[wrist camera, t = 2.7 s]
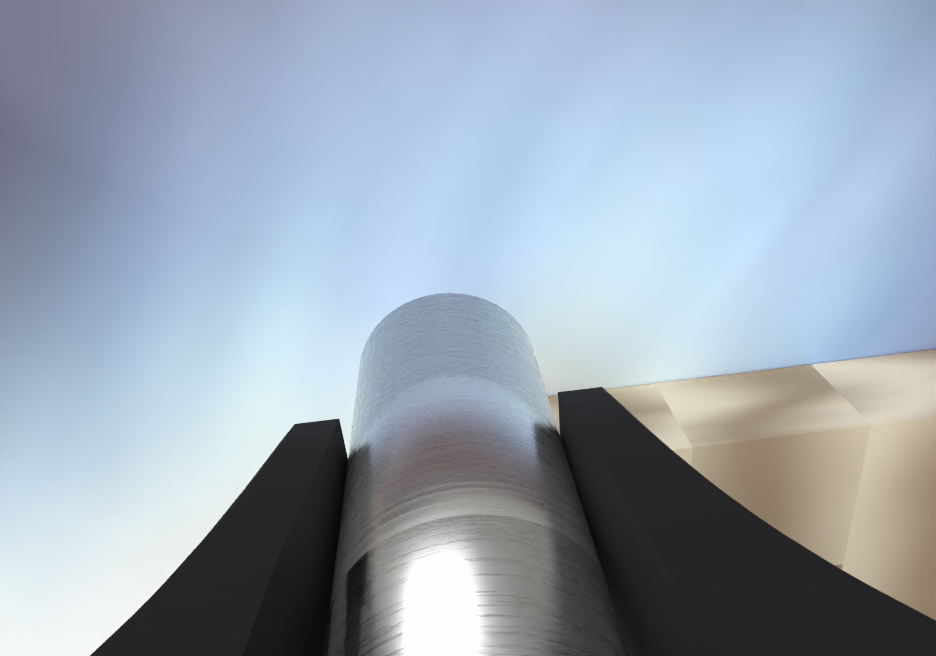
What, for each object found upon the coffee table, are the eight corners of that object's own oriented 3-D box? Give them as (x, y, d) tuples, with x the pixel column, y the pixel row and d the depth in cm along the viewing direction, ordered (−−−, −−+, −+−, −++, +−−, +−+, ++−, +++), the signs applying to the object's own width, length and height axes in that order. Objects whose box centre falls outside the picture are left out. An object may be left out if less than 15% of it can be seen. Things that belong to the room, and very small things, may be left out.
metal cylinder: (529, 282, 12) (669, 657, 5) (539, 434, 13) (657, 868, 7) (345, 305, 12) (269, 708, 5) (374, 453, 13) (341, 912, 7)
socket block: (1041, 336, 21) (1134, 392, 18) (939, 660, 27) (997, 737, 24) (419, 412, 20) (421, 481, 18) (467, 723, 27) (473, 807, 24)
